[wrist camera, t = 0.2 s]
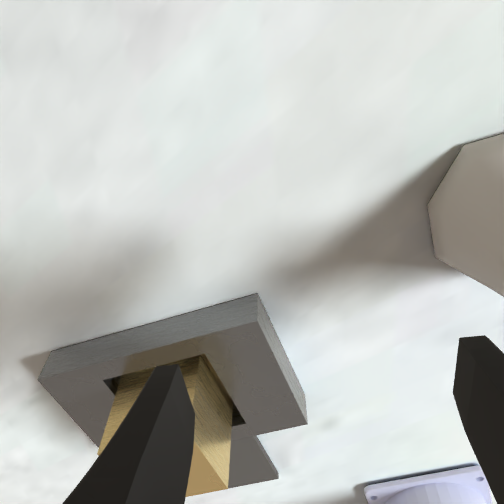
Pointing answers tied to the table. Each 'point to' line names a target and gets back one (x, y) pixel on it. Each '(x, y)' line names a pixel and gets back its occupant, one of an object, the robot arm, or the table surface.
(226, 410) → the block
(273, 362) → the gray rectangular frame
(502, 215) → the flask
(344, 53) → the table surface
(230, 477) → the flat gray plate
